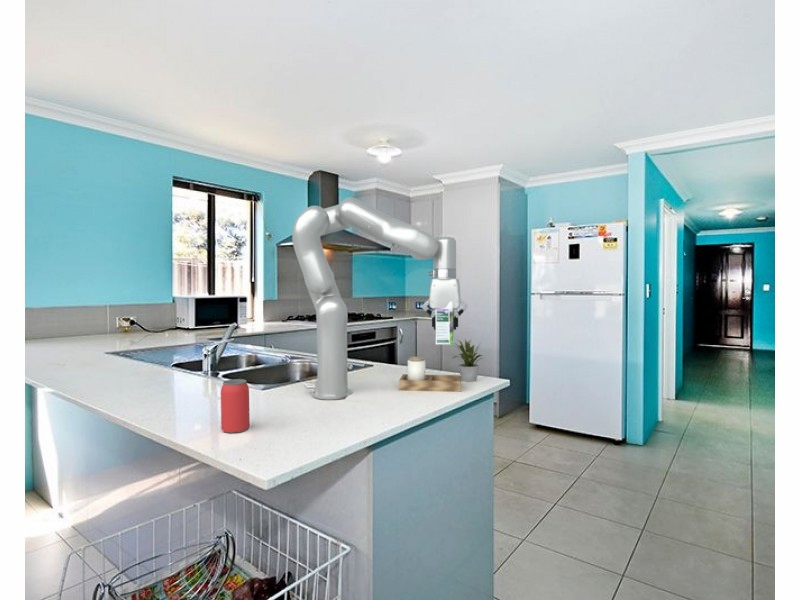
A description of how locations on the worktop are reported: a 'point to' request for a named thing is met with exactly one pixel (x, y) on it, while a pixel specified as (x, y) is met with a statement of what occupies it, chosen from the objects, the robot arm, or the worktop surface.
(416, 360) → the ceramic jar
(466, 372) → the house plant
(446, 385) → the wooden tray
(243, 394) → the beer can
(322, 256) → the robot arm
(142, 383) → the worktop surface
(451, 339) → the syrup box
